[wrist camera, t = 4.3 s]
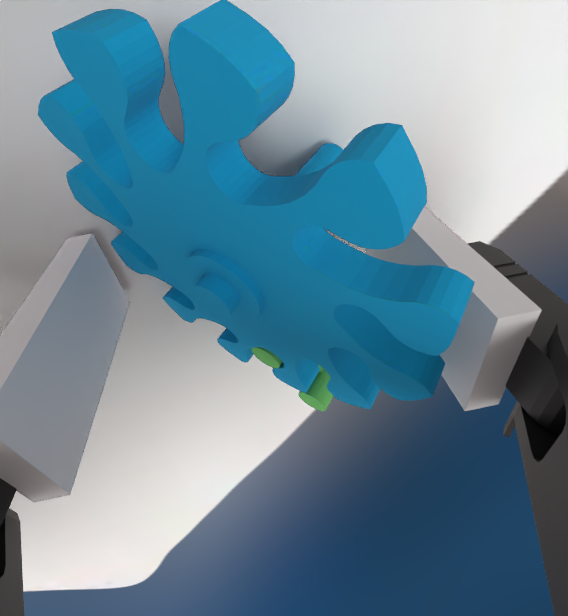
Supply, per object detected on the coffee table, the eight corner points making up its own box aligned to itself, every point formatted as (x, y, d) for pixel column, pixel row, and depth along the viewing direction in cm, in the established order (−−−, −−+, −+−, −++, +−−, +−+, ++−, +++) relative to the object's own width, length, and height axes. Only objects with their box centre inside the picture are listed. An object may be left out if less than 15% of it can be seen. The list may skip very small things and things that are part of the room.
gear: (-57, 96, 7) (423, -222, 2) (141, 0, 10) (601, -255, 4) (201, 371, 15) (448, 495, 9) (275, 276, 18) (504, 325, 12)
